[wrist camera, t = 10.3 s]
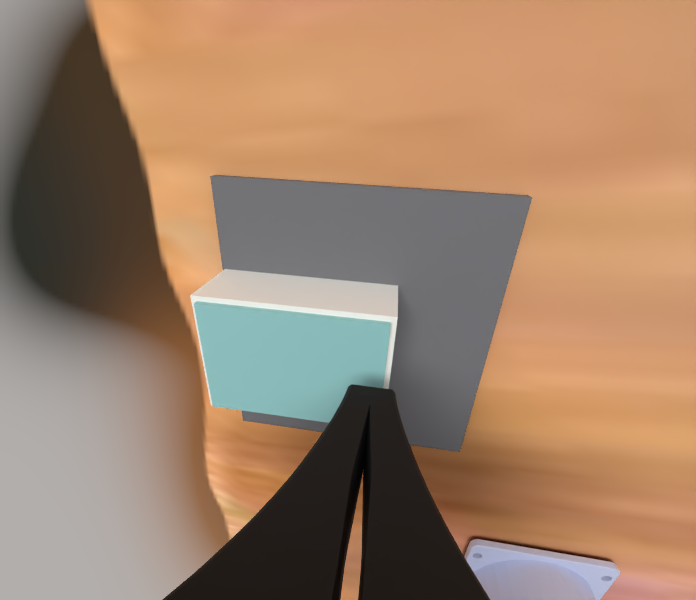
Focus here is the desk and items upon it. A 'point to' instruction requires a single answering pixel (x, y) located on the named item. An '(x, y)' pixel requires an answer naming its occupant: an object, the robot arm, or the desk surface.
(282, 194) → the mat
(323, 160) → the desk surface
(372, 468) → the robot arm
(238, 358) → the slab
